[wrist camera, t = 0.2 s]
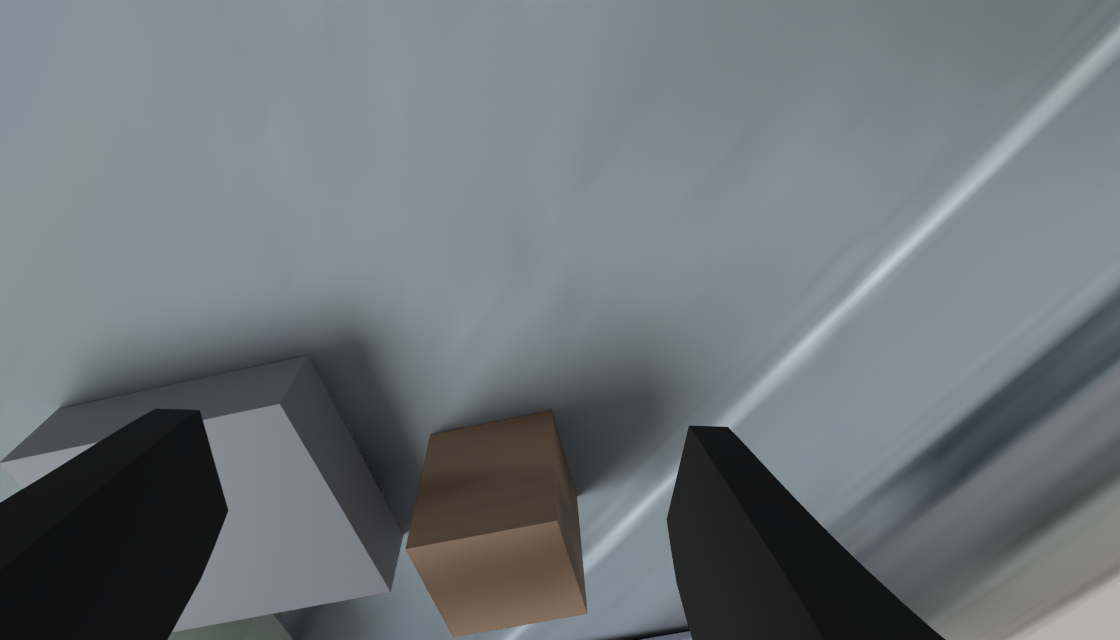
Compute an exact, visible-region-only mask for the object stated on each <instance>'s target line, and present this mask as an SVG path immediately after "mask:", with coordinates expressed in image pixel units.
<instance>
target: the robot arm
mask: <svg viewBox="0 0 1120 640" xmlns="http://www.w3.org/2000/svg"><path fill="white" fill-rule="evenodd" d="M227 513H228V507H227V504H226V500H225V497H224V493H223V490H222V486H221V483H220V479H219V476H218V472H217V468H216V465H215V461H214V458H213V454H212V451H211V447H210V444H209V440H208V437H207V433H206V430H205V426H204V423H203V419H202V416H201V412H200V410H188V409H157V408H156V409H154V410H152V411H150V412H149V413H147V414H145V415H143V416H141V417H139V418H138V419H136V420H134V421H132V422H131V423H129V424H127V425H126V426H124V427H122V428H121V429H119V430H117V431H116V432H114V433H112V434H111V435H109V436H108V437H106V438H104V439H103V440H101V441H99V442H98V443H96V444H95V445H93V446H91V447H90V448H88V449H87V450H85V451H83V452H82V453H80V454H78V455H77V456H75V457H74V458H72V459H70V460H69V461H67V462H66V463H64V464H62V465H61V466H59V467H58V468H56V469H54V470H53V471H51V472H50V473H48V474H46V475H45V476H43V477H41V478H40V479H38V480H37V481H35V482H33V483H32V484H30V485H28V486H27V487H25V488H24V489H22V490H20V491H19V492H17V493H15V494H14V495H12V496H11V497H9V498H7V499H6V500H4V501H2V502H1V503H0V640H168V638H169V636H170V635H171V633H172V631H173V629H174V627H175V626H176V624H177V622H178V620H179V618H180V616H181V615H182V613H183V611H184V609H185V607H186V606H187V604H188V602H189V600H190V598H191V597H192V595H193V593H194V591H195V589H196V587H197V585H198V583H199V582H200V580H201V578H202V575H203V573H204V571H205V568H206V566H207V564H208V561H209V559H210V557H211V554H212V552H213V549H214V547H215V544H216V542H217V539H218V537H219V534H220V531H221V529H222V526H223V524H224V521H225V518H226V516H227ZM667 524H668V531H669V538H670V545H671V551H672V558H673V564H674V569H675V575H676V581H677V586H678V590H679V593H680V597H681V601H682V604H683V608H684V612H685V615H686V619H687V623H688V626H689V630H690V631H687V632H681V633H676V634H670V635H664V636H658V637H652V638H646V639H641V640H945V639H944V638H943V637H941V636H940V635H939V634H938V633H937V632H935V631H934V630H933V629H932V628H931V627H930V626H928V625H927V624H926V623H925V622H924V621H923V620H922V619H920V618H919V617H918V616H917V615H916V614H915V613H914V612H912V611H911V610H910V609H909V608H908V607H907V606H906V605H904V604H903V603H902V602H901V601H900V600H899V599H898V598H897V597H896V596H895V595H894V594H892V593H891V592H890V591H889V590H888V589H887V588H886V587H885V586H884V585H883V584H882V583H881V582H880V581H878V580H877V579H876V578H875V577H874V576H873V575H872V574H871V573H870V572H869V571H868V570H867V569H865V568H864V567H863V566H862V565H861V564H860V563H859V562H858V561H857V560H856V559H855V558H854V557H853V556H852V555H851V554H850V553H849V552H848V551H847V550H846V549H845V548H844V547H843V546H841V545H840V544H839V543H838V542H837V541H836V540H835V539H834V538H833V537H832V536H831V535H830V534H829V533H828V532H827V531H826V530H825V529H824V528H823V527H822V526H821V525H820V524H819V523H818V522H817V521H816V519H815V518H814V517H813V516H812V515H811V514H810V513H809V512H808V511H807V510H806V509H805V508H804V507H803V506H802V505H801V504H800V503H799V502H798V501H797V500H796V499H795V498H794V497H793V496H792V495H791V494H790V493H789V491H788V490H787V489H786V488H785V487H784V486H783V485H782V484H781V483H780V482H779V481H778V480H777V479H776V478H775V477H774V476H773V474H772V473H771V472H770V471H769V470H768V469H767V468H766V467H765V466H764V465H763V464H762V463H761V462H760V460H759V459H758V458H757V457H756V456H755V455H754V454H753V453H752V452H751V451H750V450H749V449H748V448H747V446H746V445H745V444H744V443H743V442H742V441H741V440H740V439H739V438H738V437H737V436H736V435H735V434H734V433H733V432H732V431H731V430H730V429H729V428H728V427H712V426H689V428H688V432H687V437H686V441H685V445H684V449H683V453H682V458H681V462H680V466H679V470H678V474H677V479H676V483H675V487H674V491H673V495H672V500H671V504H670V508H669V512H668V517H667Z"/></svg>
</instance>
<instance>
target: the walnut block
mask: <svg viewBox="0 0 1120 640" xmlns="http://www.w3.org/2000/svg"><path fill="white" fill-rule="evenodd" d="M406 551H407V553H408V554H409V556H410V558H411V560H412V562H413V564H414V566H415V567H416V569H417V571H418V573H419V575H420V577H421V579H422V580H423V582H424V584H425V586H426V588H427V590H428V592H429V593H430V595H431V597H432V599H433V601H434V603H435V605H436V607H437V608H438V610H439V612H440V614H441V616H442V618H443V620H444V621H445V623H446V625H447V627H448V629H449V631H450V633H451V634H452V636H453V637H458V636H464V635H469V634H475V633H481V632H487V631H492V630H498V629H504V628H509V627H515V626H521V625H526V624H532V623H538V622H544V621H549V620H555V619H561V618H566V617H572V616H578V615H583V614H587V604H586V593H585V582H584V571H583V560H582V549H581V538H580V527H579V515H578V504H577V496H576V492H575V489H574V486H573V482H572V479H571V475H570V472H569V468H568V465H567V462H566V458H565V455H564V451H563V448H562V444H561V441H560V437H559V434H558V431H557V427H556V424H555V420H554V417H553V413H552V410H550V411H545V412H540V413H535V414H530V415H525V416H520V417H515V418H510V419H505V420H500V421H495V422H490V423H485V424H480V425H475V426H470V427H465V428H461V429H456V430H451V431H446V432H441V433H436V434H431V435H430V439H429V443H428V448H427V453H426V457H425V462H424V467H423V471H422V476H421V480H420V485H419V490H418V494H417V499H416V504H415V508H414V513H413V517H412V522H411V527H410V531H409V536H408V541H407V545H406Z"/></svg>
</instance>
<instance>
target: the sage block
mask: <svg viewBox="0 0 1120 640" xmlns="http://www.w3.org/2000/svg"><path fill="white" fill-rule="evenodd" d="M168 640H293V639H292V638H291V636H290V635H289V634H288V633H287V631H286V630H285V629H284V627H283V626H282V625H281V624H280V622H279V621H278V620H277V618H276V617H275V616H274V615H273V614H268V615H263V616H258V617H252V618H247V619H241V620H236V621H231V622H225V623H220V624H215V625H209V626H204V627H198V628H193V629H188V630H182V631H177V632H172V633H171V635H170V636H169V638H168Z"/></svg>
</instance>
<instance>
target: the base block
mask: <svg viewBox="0 0 1120 640" xmlns="http://www.w3.org/2000/svg"><path fill="white" fill-rule="evenodd" d="M156 408H157V409H188V410H200V412H201V416H202V419H203V423H204V426H205V430H206V433H207V437H208V440H209V444H210V447H211V451H212V454H213V458H214V461H215V465H216V468H217V472H218V476H219V479H220V483H221V486H222V490H223V493H224V497H225V500H226V504H227V507H228V513H227V516H226V518H225V521H224V524H223V526H222V529H221V531H220V534H219V537H218V539H217V542H216V544H215V547H214V549H213V552H212V554H211V557H210V559H209V561H208V564H207V566H206V568H205V571H204V573H203V575H202V578H201V580H200V582H199V583H198V585H197V587H196V589H195V591H194V593H193V595H192V597H191V598H190V600H189V602H188V604H187V606H186V607H185V609H184V611H183V613H182V615H181V616H180V618H179V620H178V622H177V624H176V626H175V627H174V629H173V631H172V632H177V631H182V630H188V629H193V628H198V627H204V626H209V625H215V624H220V623H225V622H231V621H236V620H241V619H247V618H252V617H258V616H263V615H268V614H274V613H279V612H285V611H290V610H295V609H301V608H306V607H312V606H317V605H322V604H328V603H333V602H339V601H344V600H349V599H355V598H360V597H366V596H371V595H376V594H382V593H387V592H391V587H392V583H393V579H394V574H395V570H396V565H397V561H398V556H399V552H400V547H401V543H402V538H403V533H402V531H401V529H400V527H399V525H398V523H397V521H396V520H395V518H394V516H393V514H392V512H391V510H390V508H389V506H388V504H387V503H386V501H385V499H384V497H383V495H382V493H381V491H380V489H379V487H378V486H377V484H376V482H375V480H374V478H373V476H372V474H371V472H370V471H369V469H368V467H367V465H366V463H365V461H364V459H363V457H362V455H361V454H360V452H359V450H358V448H357V446H356V444H355V442H354V440H353V438H352V437H351V435H350V433H349V431H348V429H347V427H346V425H345V423H344V421H343V420H342V418H341V416H340V414H339V412H338V410H337V408H336V406H335V404H334V403H333V401H332V399H331V397H330V395H329V393H328V391H327V389H326V388H325V386H324V384H323V382H322V380H321V378H320V376H319V374H318V372H317V371H316V369H315V367H314V365H313V363H312V361H311V359H310V357H309V355H306V356H301V357H297V358H292V359H287V360H283V361H278V362H273V363H269V364H264V365H259V366H255V367H250V368H246V369H241V370H236V371H232V372H227V373H222V374H218V375H213V376H208V377H204V378H199V379H195V380H190V381H185V382H181V383H176V384H171V385H167V386H162V387H157V388H153V389H148V390H144V391H139V392H134V393H130V394H125V395H120V396H116V397H111V398H106V399H102V400H97V401H93V402H88V403H83V404H79V405H74V406H69V407H65V408H60V409H58V410H56V411H55V412H54V413H53V414H52V415H51V416H50V417H49V418H48V419H47V420H46V421H44V422H43V423H42V424H41V425H40V426H39V427H38V428H37V429H36V430H35V431H34V432H33V433H31V434H30V435H29V436H28V437H27V438H26V439H25V440H24V441H23V442H22V443H21V444H19V445H18V446H17V447H16V448H15V449H14V450H13V451H12V452H11V453H10V454H9V455H7V456H6V457H5V458H4V459H3V460H2V461H1V462H0V465H1V466H2V467H3V468H4V469H5V470H6V471H7V472H8V473H9V474H10V475H11V476H12V477H13V478H14V479H15V480H16V481H17V482H18V483H19V484H20V486H21V487H22V488H23V489H24V488H25V487H27V486H28V485H30V484H32V483H33V482H35V481H37V480H38V479H40V478H41V477H43V476H45V475H46V474H48V473H50V472H51V471H53V470H54V469H56V468H58V467H59V466H61V465H62V464H64V463H66V462H67V461H69V460H70V459H72V458H74V457H75V456H77V455H78V454H80V453H82V452H83V451H85V450H87V449H88V448H90V447H91V446H93V445H95V444H96V443H98V442H99V441H101V440H103V439H104V438H106V437H108V436H109V435H111V434H112V433H114V432H116V431H117V430H119V429H121V428H122V427H124V426H126V425H127V424H129V423H131V422H132V421H134V420H136V419H138V418H139V417H141V416H143V415H145V414H147V413H149V412H150V411H152V410H154V409H156Z"/></svg>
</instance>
